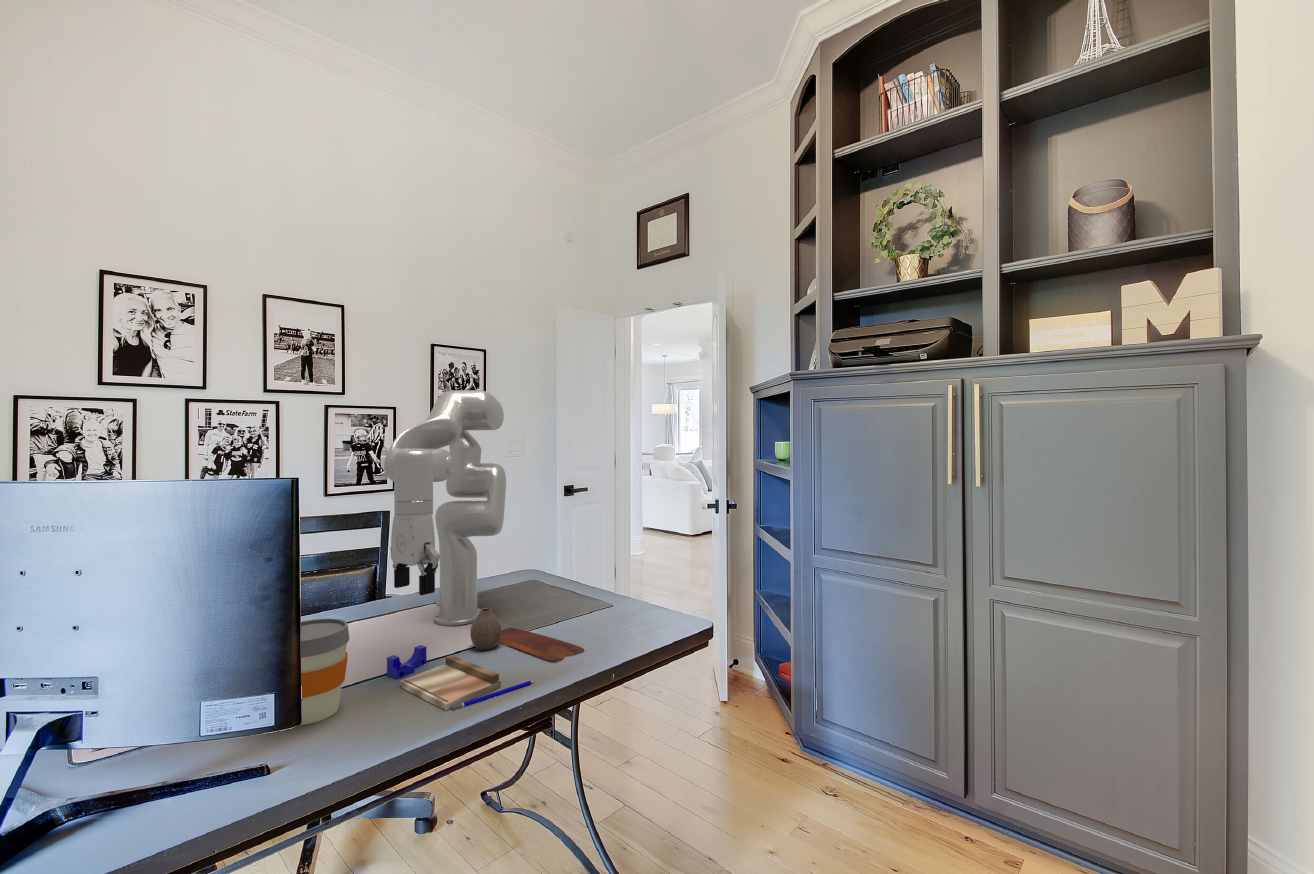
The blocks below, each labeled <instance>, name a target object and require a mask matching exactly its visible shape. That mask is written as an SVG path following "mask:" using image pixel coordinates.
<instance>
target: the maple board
mask: <svg viewBox="0 0 1314 874" xmlns="http://www.w3.org/2000/svg"><path fill="white" fill-rule="evenodd" d="M499 676H500V674H499V673H498V672H494V671H493V670H490V669H488V668H485V667H482V666H480V665H478V664H475V663H472V662H471V661H468V660H466V659H463V658H461V657H458V656H455V655H453V654H451V655H448V656H445V664H442V665H440V666H436V667H433V668H431V669H428V670H426V671H423V672H419V673H418V674H414V675H413V676H410V677H406V678H404V679H401V680H400V681H399V687H400V688H401V689H404V690H405V691H407V692H409V693H411V694H413V695H415V696H416V697H418V696H419V698H421V699H422V700H425V701H426V702H428V703H430V704H432V705H434V706H435V707H438V708H440V709H442V710H443V711H446V712H447V711H448V710H451V707H452V706H454V705H457V704H461V703H464V702H467V701H470V700H473V699H476V698H479V697H482V695H483V696H484V695H485V694H486V695H487V694H489V693H490V692H493V691H495V690H497V689H498V688H501V687H502V680H501V679H499Z"/></svg>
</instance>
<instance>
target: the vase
mask: <svg viewBox="0 0 1314 874" xmlns="http://www.w3.org/2000/svg"><path fill="white" fill-rule="evenodd" d="M480 609H481V608H480ZM501 630H502V625H501V622H500V620H499V618H498V617H497V615H495V613H494V612H493V610H492V609H491V608H490V607H484V608H482V609H481V610H480V613H479V614H478V616H477V617H476V619H475V620H474V621H473V622H472V623H471V626H470V630H469V631H470V641H471V643H472V646H474V647H475V648H476V649H477V650H480V651H487V650H488V651H489V650H492V649H494V648H495V647H496V646H497V645H498V644H499V643H498V642H499V640H500V637H501Z"/></svg>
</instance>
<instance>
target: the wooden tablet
mask: <svg viewBox="0 0 1314 874" xmlns="http://www.w3.org/2000/svg"><path fill="white" fill-rule="evenodd" d="M498 644H500V645H503V646H506V647H509V648H512V649H516V650H519V651H521V652H524V653H525V654H529V655H530V656H533V657H535V656H536V658H539V659H540V660H543V661H546V662H550V663H553V664H556V663H559V662H562V661H563V660H565V659H566V658H567V657H569V658H570V657H574V656H577V655H579V654H581V653H584V651H585V648H583V647H582V646H580V645H576V644H573V643H571V642H567V641H564V640H561V639H558V638H554V637H550V636H546V635H543V634H539V633H535V632H531V631H528V630H525V629H520V628H516V627H507V628H504V629H501V637H500V640H499V642H498Z"/></svg>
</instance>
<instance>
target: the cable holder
mask: <svg viewBox="0 0 1314 874" xmlns="http://www.w3.org/2000/svg"><path fill="white" fill-rule="evenodd" d="M427 658H428V657H427V646H425V645H422V644H419V645H416V646H414V648H413V653H412V654H411V657H410V658H409V659H408V660H406V661H405V662H401V659H400V656H398V655H394V654H392V655H391V656H388V657H386V676H387V677H389V678H392V679H394V680H400V679H403V678H405V677H407V676H410V675H412V674H414V672H415V673H416V671H415V670H416V669H419V668H421V667H423V666H425V665H424V664H426V665H427V663H428V662H427ZM422 665H423V666H422ZM420 666H421V667H420ZM418 667H419V668H418ZM411 673H412V674H411ZM409 674H410V675H409ZM406 675H407V676H406ZM404 676H405V677H404Z"/></svg>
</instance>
